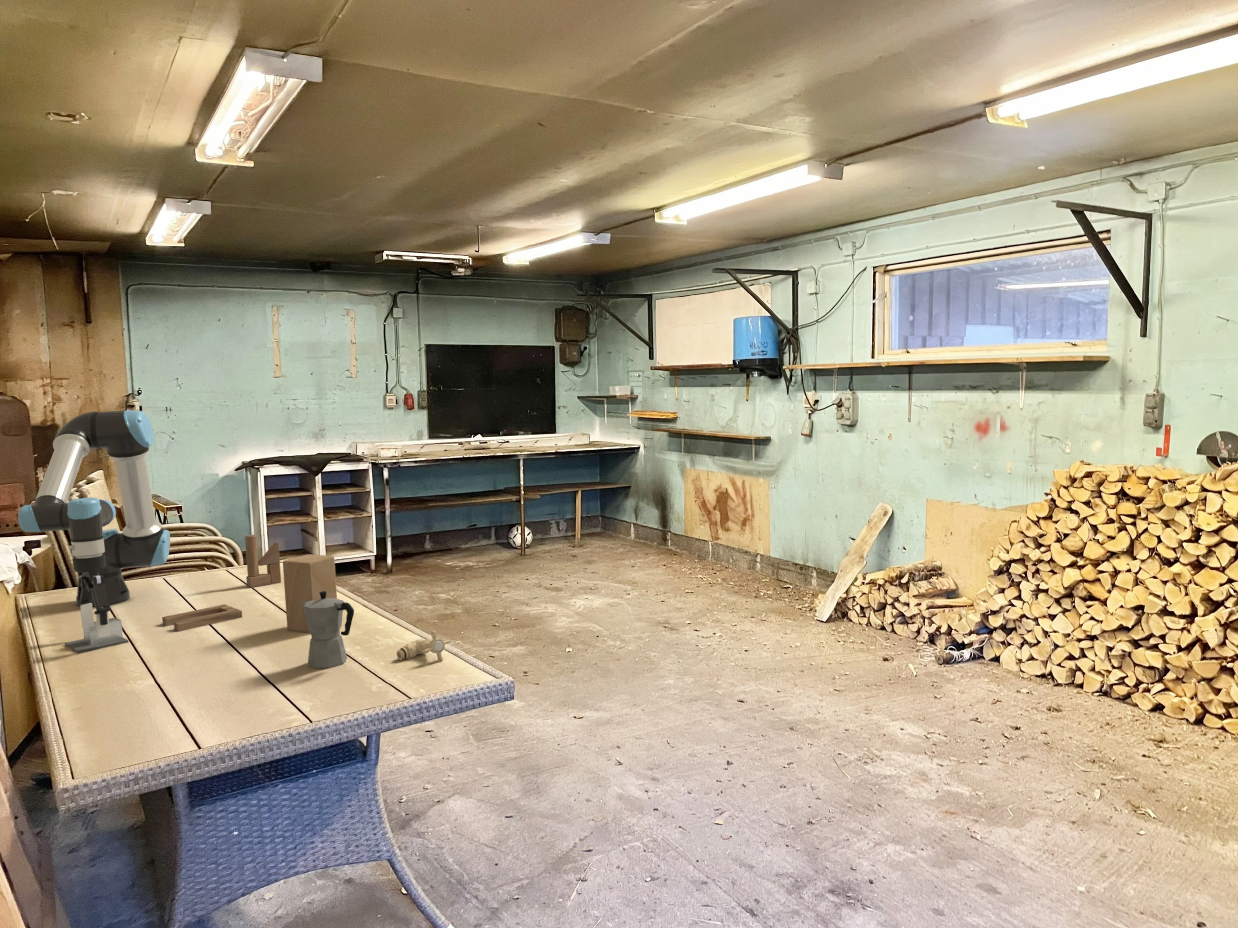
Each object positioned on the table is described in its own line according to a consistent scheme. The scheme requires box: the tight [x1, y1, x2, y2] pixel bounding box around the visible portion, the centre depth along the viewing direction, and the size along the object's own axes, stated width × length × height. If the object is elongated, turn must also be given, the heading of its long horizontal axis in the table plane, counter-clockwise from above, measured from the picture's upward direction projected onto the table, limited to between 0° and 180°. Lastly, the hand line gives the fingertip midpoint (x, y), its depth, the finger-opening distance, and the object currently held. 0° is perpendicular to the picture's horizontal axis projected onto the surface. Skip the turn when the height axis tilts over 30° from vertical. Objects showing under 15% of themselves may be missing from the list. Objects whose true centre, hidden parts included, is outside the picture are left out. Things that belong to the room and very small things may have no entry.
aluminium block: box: [82, 617, 124, 645], centre depth 232 cm, size 4×8×5 cm, turn 142°
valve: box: [396, 630, 452, 662], centre depth 210 cm, size 8×12×10 cm
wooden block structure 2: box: [244, 534, 282, 589], centre depth 296 cm, size 4×11×18 cm, turn 132°
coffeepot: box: [302, 591, 355, 670], centre depth 207 cm, size 15×9×18 cm, turn 68°
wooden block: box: [282, 553, 338, 634], centre depth 239 cm, size 10×10×20 cm
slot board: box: [161, 604, 243, 632], centre depth 251 cm, size 13×18×2 cm
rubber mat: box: [64, 637, 129, 654], centre depth 230 cm, size 12×12×1 cm
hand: (96, 631), depth 231 cm, fingers open, 13 cm apart
